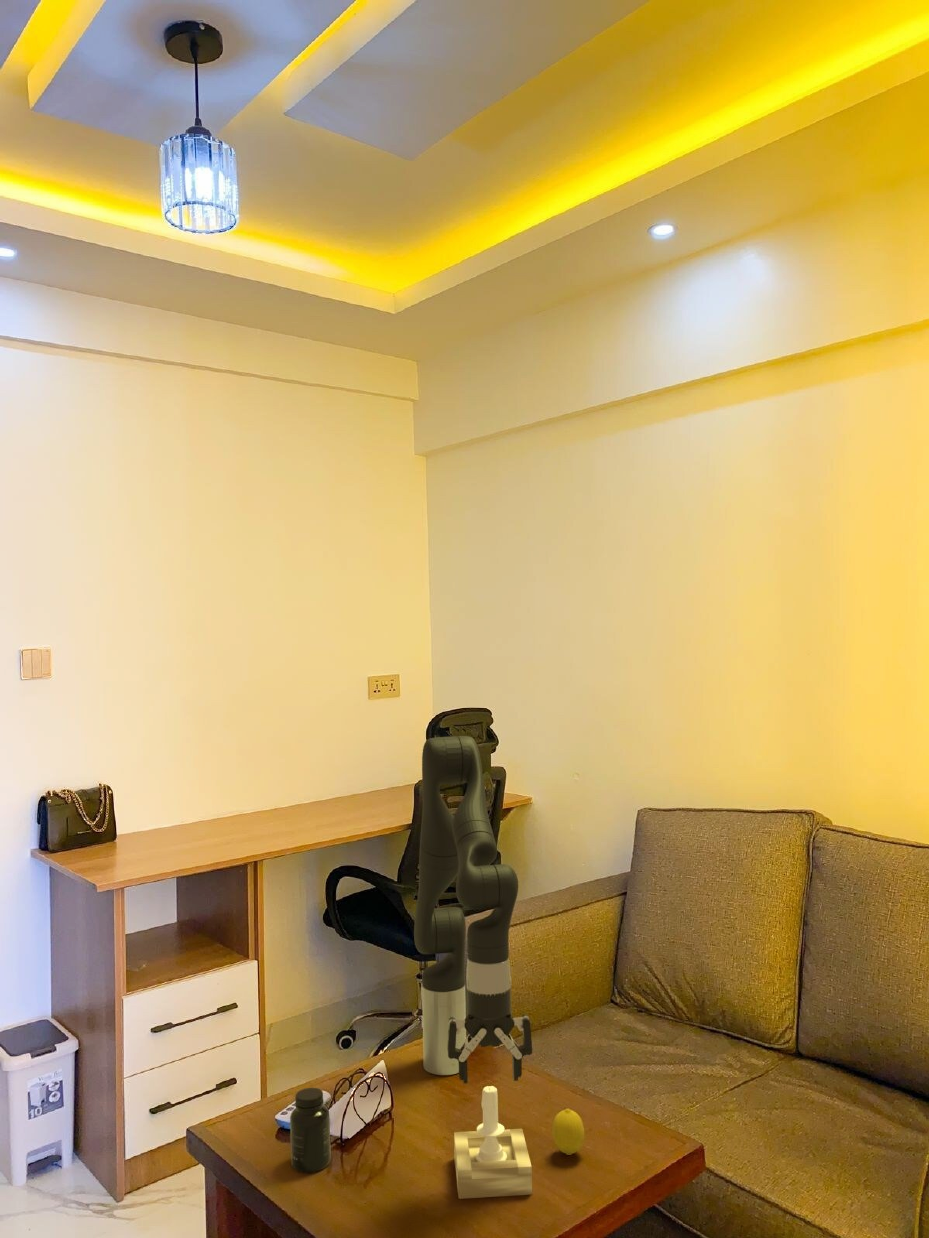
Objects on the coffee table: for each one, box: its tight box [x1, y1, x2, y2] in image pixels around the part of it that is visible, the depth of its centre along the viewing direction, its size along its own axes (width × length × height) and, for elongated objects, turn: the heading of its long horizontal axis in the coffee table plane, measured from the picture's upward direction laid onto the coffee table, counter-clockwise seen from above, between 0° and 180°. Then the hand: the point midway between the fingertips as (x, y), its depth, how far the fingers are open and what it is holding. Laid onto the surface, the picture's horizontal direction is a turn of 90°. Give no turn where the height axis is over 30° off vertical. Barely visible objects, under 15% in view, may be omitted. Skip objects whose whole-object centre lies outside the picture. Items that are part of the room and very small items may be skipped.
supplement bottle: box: [289, 1087, 332, 1174], centre depth 164 cm, size 7×7×12 cm
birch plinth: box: [453, 1128, 533, 1200], centre depth 159 cm, size 12×12×4 cm
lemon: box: [551, 1108, 585, 1156], centre depth 165 cm, size 6×6×8 cm
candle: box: [475, 1085, 507, 1162], centre depth 160 cm, size 5×5×12 cm
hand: (490, 1079), depth 160 cm, fingers open, 8 cm apart
